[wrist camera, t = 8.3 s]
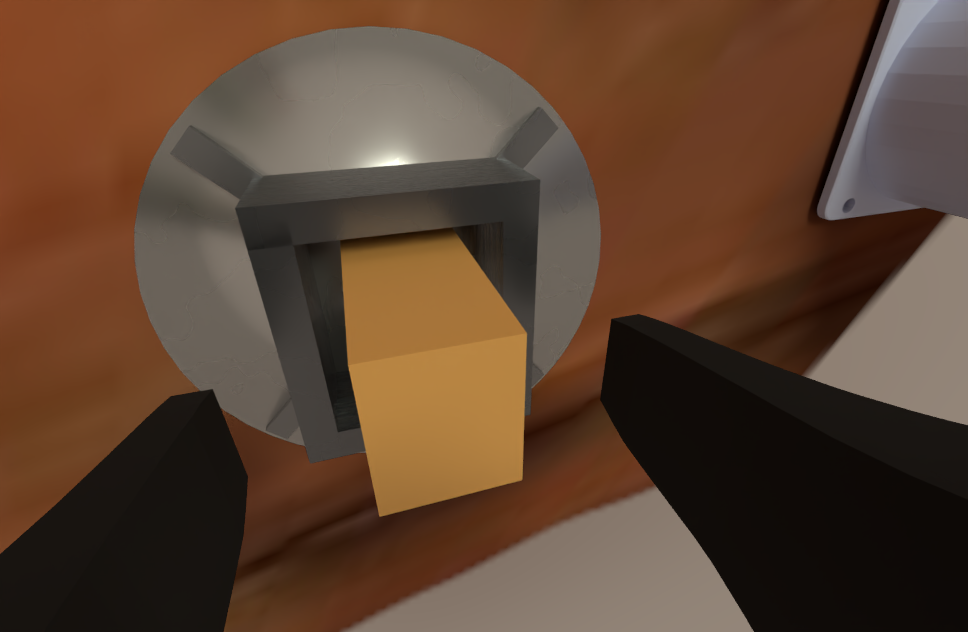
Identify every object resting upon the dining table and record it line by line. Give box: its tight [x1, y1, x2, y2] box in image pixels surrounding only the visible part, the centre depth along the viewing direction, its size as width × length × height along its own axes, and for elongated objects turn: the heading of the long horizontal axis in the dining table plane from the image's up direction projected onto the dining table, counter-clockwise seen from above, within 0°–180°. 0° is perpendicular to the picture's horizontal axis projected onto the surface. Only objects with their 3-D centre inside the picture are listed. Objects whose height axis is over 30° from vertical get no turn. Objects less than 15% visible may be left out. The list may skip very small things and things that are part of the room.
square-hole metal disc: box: [134, 26, 601, 463], centre depth 12 cm, size 12×12×4 cm
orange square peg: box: [340, 227, 527, 517], centre depth 10 cm, size 3×3×6 cm
